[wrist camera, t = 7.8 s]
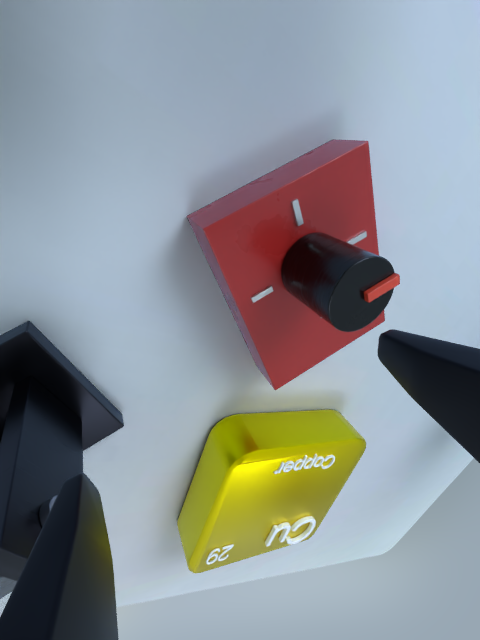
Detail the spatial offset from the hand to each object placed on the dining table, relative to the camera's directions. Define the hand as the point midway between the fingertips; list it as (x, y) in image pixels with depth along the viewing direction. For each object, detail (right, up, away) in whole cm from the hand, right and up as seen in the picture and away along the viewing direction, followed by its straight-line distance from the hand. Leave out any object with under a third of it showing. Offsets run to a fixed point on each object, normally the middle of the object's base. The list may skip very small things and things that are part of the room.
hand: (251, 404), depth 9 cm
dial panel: (+3, +6, +14) cm, 15 cm away
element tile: (+2, -12, +24) cm, 27 cm away
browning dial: (+4, +6, +10) cm, 12 cm away
